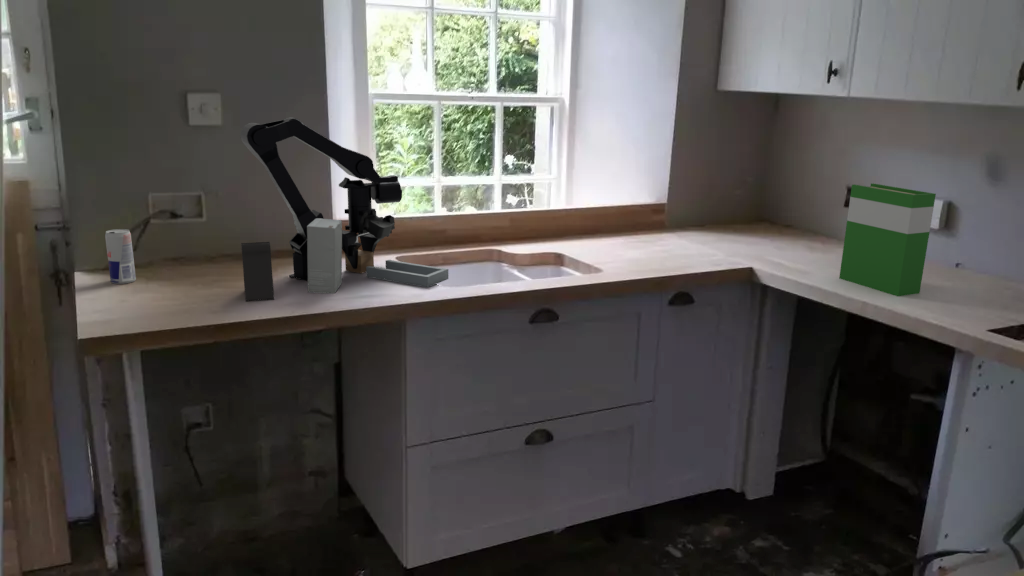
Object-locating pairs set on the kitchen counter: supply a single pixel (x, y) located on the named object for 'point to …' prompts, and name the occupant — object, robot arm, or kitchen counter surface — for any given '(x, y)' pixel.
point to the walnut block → (361, 261)
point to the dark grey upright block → (257, 271)
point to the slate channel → (408, 273)
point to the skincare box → (324, 255)
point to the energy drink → (120, 256)
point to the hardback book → (887, 238)
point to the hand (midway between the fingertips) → (361, 266)
